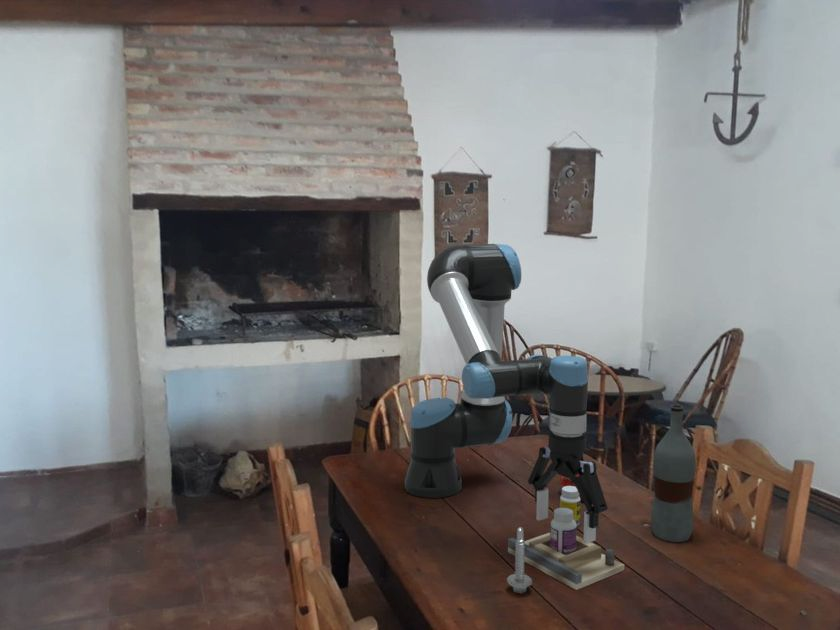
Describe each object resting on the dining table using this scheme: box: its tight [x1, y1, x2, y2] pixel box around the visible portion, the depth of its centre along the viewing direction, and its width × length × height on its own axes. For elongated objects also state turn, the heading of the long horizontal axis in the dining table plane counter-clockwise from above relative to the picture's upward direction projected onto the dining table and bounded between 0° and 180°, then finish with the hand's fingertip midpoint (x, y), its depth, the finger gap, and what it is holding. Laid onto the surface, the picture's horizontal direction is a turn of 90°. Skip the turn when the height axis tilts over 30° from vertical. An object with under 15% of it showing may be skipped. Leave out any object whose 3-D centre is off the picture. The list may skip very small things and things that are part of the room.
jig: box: [507, 522, 625, 591], centre depth 159 cm, size 20×14×4 cm
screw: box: [506, 526, 533, 594], centre depth 147 cm, size 13×5×5 cm
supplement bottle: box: [559, 486, 582, 526], centre depth 178 cm, size 5×5×8 cm
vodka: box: [650, 404, 697, 543], centre depth 170 cm, size 9×9×30 cm
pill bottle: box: [550, 507, 578, 555], centre depth 159 cm, size 5×5×10 cm
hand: (565, 529), depth 159 cm, fingers open, 13 cm apart
